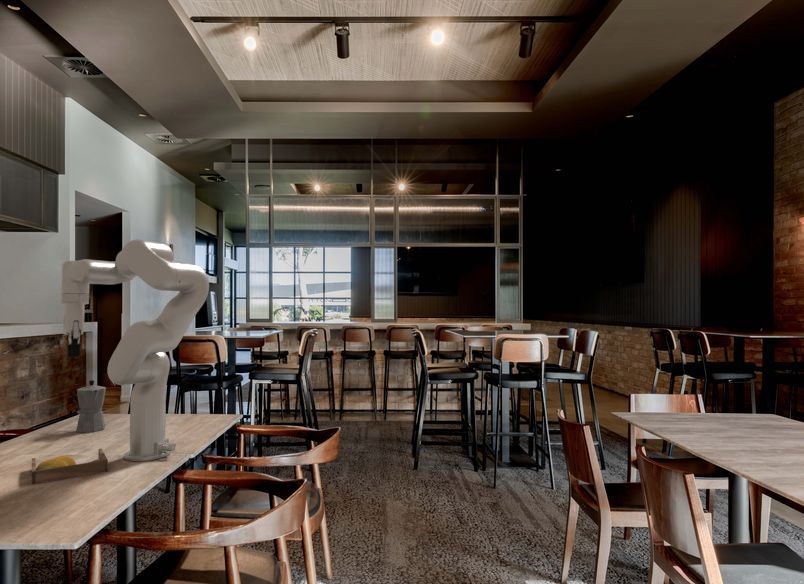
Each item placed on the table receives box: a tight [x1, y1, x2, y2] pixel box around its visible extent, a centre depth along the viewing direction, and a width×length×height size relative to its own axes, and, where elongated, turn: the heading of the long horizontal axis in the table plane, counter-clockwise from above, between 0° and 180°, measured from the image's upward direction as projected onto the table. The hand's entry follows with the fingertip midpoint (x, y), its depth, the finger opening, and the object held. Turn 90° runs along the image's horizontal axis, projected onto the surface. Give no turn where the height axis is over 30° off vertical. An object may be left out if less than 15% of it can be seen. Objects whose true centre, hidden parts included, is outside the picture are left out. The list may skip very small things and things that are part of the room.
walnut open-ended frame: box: [31, 448, 109, 485], centre depth 139 cm, size 15×17×3 cm
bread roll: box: [36, 455, 77, 471], centre depth 139 cm, size 8×9×4 cm
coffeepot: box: [76, 379, 107, 434], centre depth 188 cm, size 15×9×18 cm, turn 44°
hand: (73, 356), depth 164 cm, fingers closed
